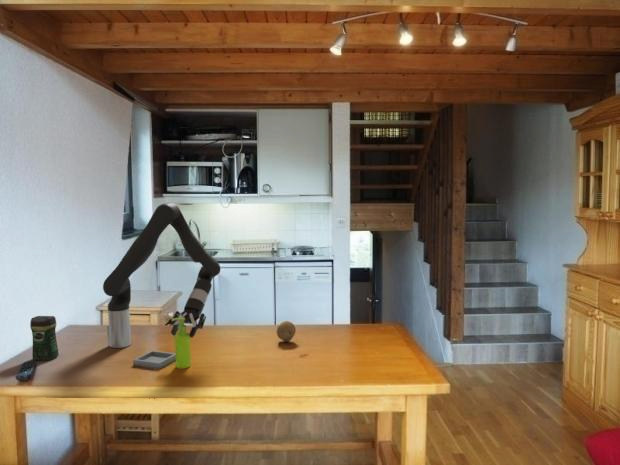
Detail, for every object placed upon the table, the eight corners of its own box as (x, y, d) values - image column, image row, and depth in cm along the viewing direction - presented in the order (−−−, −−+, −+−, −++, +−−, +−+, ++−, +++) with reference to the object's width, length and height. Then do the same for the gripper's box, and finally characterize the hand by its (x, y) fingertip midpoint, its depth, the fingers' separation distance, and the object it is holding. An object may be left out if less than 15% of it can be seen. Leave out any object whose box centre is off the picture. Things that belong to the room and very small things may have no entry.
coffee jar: (61, 355, 212) (59, 313, 210) (50, 361, 204) (47, 318, 202) (41, 354, 213) (38, 313, 211) (29, 361, 205) (26, 318, 203)
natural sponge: (293, 345, 221) (292, 324, 220) (274, 344, 222) (274, 323, 221) (297, 339, 229) (297, 319, 228) (279, 338, 231) (279, 318, 230)
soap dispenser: (174, 363, 200) (173, 316, 198) (191, 362, 201) (190, 316, 199) (172, 368, 194) (170, 320, 192) (189, 368, 195) (187, 319, 193)
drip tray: (133, 365, 199) (133, 359, 198) (152, 355, 210) (152, 350, 210) (159, 369, 194) (159, 363, 194) (177, 359, 205) (177, 353, 205)
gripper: (178, 296, 206) (162, 329, 196) (207, 298, 201) (192, 332, 192) (186, 305, 212) (171, 338, 202) (214, 307, 207) (200, 341, 197)
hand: (181, 335), depth 197 cm, fingers open, 8 cm apart
